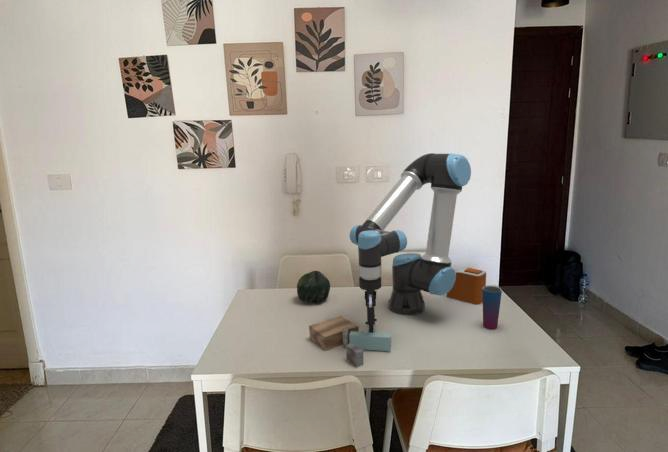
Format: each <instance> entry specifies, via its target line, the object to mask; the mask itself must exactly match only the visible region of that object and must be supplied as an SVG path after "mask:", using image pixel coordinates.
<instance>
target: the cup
mask: <svg viewBox="0 0 668 452" xmlns="http://www.w3.org/2000/svg"><path fill="white" fill-rule="evenodd" d="M502 292H503V288H501V287H500V286H496V285H486V286H484V287H483V288H482V294H483V302H482V324H483V328H485V329H487V330H496V329H498V325H499V315H500V307H501V301H502V294H503V293H502Z"/></svg>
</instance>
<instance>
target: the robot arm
mask: <svg viewBox="0 0 668 452" xmlns="http://www.w3.org/2000/svg"><path fill="white" fill-rule="evenodd" d="M471 176H472V168H471V164H470V162H469V159H467V157H466V156H464V155H463V154H459V153H458V154H456V153H426V154H423V155H421V156H419V157H418V158H416V159H415V160H414V161H412V162H411V163H410V164H409V165H408V166H406V168H404V169H403V171H402V173H401V174H400V179H398V181H397V183H395V185H394V186H393V187H392V188H391V190H390V191H389V192H388V193H387V194H386V196H384V198H383V199H382V200H381V201H380V203H379V204H378V205H377V206H376V207H375V209H374V210H373V211H372V213H371V214H370V215H369V216H368V217H367V219H366V220H365V221H364V222H363V223H362V225H361V224H356V225H353V226H352V228H351V229H350V232H349V240H350V242H351V243H352V244H354V245H356V246H357V250H358V251H357V252H358V266H357V270H358V273H359V274H358V275H359V279H358V285H359V286H358V287H359V288H360V289H361V290H363V291H364V300H365V307H366V316H367V317H366V318H367V319H366V321H365V322H364V323H365V325H367V326H366V329H367V331H366V332H372V333H376V322H377V321H378V319H377V318H376V314H375V307H376V305H377V301H376V300H377V291H378V290H380V289H382V288H381V287H382V257H385V256H389V255H392V254H397V255H395V256H394V257H393V258H392V265H391V268H392V269H391V270H392V274H391V275H392V290H391V294H390V298H389V300H388V309H389V310H390V312H391V311H392V312H393V313H396V314H398V315H406V316H407V315H417V314H421V313H422V312H424V311H425V307H426V303H425V300H424V296H423V292H426V293H427V294H428V293H429V294H430V295H436V296H440V297H441V296H445V295H447V293H448V292H449V291H450V290H451V289H452V287H453V285H454V283H455V280H456V273H455V272H456V270H455V269H454V268H453V267H452V260H451V259H450V257H449V255H450V254H449V253H450V247H451V239H452V232H453V225H454V217H455V211H456V204H457V199H458V195H459V194H461V192H462V190H463V187H465V186H467V185H468V184H469V182H470V180H471ZM426 184H430V189H431V190H432V191H433V197H432V198H433V199H432V205H431V212H430V213H431V214H430V220H429V227H428V233H427V241H426V250H425V254H423V255H421V254H420V253H415V252H413V253H412V252H411V253H410V252H408V253H407V252H406V253H402V254H401V253H400V254H398V253H399V252H401V251H404V250H405V249H406V247H407V245H408V239H407V238H408V237H407V235H406V233H405V232H404V231H402V230H398V229H397V230H391V231H388V230H386V228H387V227H388V226H389V224H390V223H391V221H392V220H393V219H394V218H395V217H396V215H397V214H398V213H399V212H400V211H401V209H402V208H403V207H404V206H405V204H406V203H407V202H408V201H409V199H410V198H411V197H412V196H413V194H415V192H416V190H417V191H418V190H421V188H422V187H423V186H424V185H426ZM422 291H423V292H422Z"/></svg>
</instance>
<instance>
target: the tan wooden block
mask: <svg viewBox="0 0 668 452" xmlns="http://www.w3.org/2000/svg"><path fill="white" fill-rule="evenodd" d="M308 328H309V339H310V340H311V341H313V342H314V343H315V344H317V345H318V347H321V349H323V350H324V351H328V350H331V349H335V348H338V347H340V346H342V348H344V349H345V350H346V351H345V352H346V360H347V362H349V363H351V364H353V365H354V366H355V367H356V368H358V367H359V368H360V366H363V364H364V349H360V348H359V347H357V346H356V345H354V344H353V343H351V344H350V342H349V335H350V332H351V331H355V332H360V331H359V325H357V324H355V323H354V322H352V321H350V320H348V319H347V318H345V317H344V316H342V315H341V316H337V317H334V318H330V319H327V320H324V321H321V322H317V323H313V324H310V325H309V326H308Z"/></svg>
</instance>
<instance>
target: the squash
mask: <svg viewBox="0 0 668 452" xmlns="http://www.w3.org/2000/svg"><path fill="white" fill-rule="evenodd" d="M330 282H331V281H330V280H329V279H328V278H327V277H326V276H325V274H324V273H322V272H321V271H319V270H313V271H311V272H307V273H304V274H303V275H302V276H301V277H300V278H299V279H298V282H297V284H296V292H297V297H298V298H299V300H300V301H303V302H307V303H309V302H311V303H314V302H315V303H316V304H317V303H318V304H320V303H322V302H324V301H326V300H327V299H328V297H329V295H330V291H331V283H330Z"/></svg>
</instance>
